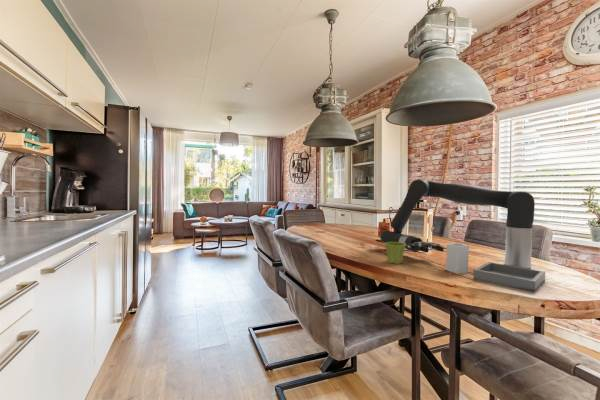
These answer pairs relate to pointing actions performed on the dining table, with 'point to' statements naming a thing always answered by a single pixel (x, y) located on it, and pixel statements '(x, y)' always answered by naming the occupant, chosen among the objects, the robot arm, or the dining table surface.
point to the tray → (510, 276)
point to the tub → (457, 258)
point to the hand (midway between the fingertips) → (435, 249)
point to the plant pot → (395, 251)
